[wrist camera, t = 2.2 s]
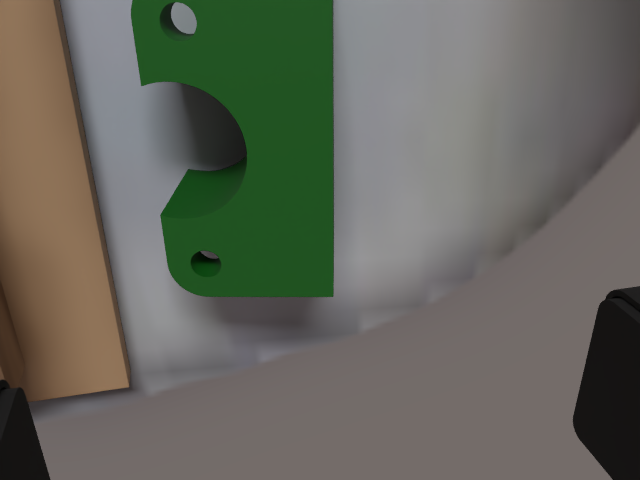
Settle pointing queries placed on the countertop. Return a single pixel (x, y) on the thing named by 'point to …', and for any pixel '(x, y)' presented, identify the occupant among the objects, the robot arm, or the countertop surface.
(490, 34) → the countertop surface
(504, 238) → the countertop surface
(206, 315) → the countertop surface
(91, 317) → the brown shallow square tray
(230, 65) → the clamp
